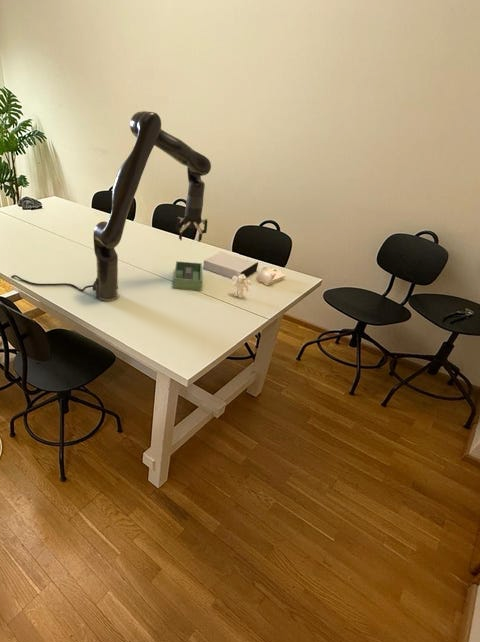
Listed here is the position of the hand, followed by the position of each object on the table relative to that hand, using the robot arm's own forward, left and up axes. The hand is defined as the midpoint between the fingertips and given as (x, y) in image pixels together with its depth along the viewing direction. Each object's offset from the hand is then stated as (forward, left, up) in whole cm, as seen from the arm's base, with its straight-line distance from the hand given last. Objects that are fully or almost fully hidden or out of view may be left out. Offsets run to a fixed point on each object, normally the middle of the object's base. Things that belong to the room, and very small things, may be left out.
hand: (189, 240), depth 176 cm
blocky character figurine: (+25, -15, -20) cm, 35 cm away
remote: (+1, -2, -19) cm, 19 cm away
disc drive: (+23, +15, -20) cm, 34 cm away
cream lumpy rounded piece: (+43, +6, -20) cm, 48 cm away
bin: (+1, -2, -20) cm, 20 cm away
